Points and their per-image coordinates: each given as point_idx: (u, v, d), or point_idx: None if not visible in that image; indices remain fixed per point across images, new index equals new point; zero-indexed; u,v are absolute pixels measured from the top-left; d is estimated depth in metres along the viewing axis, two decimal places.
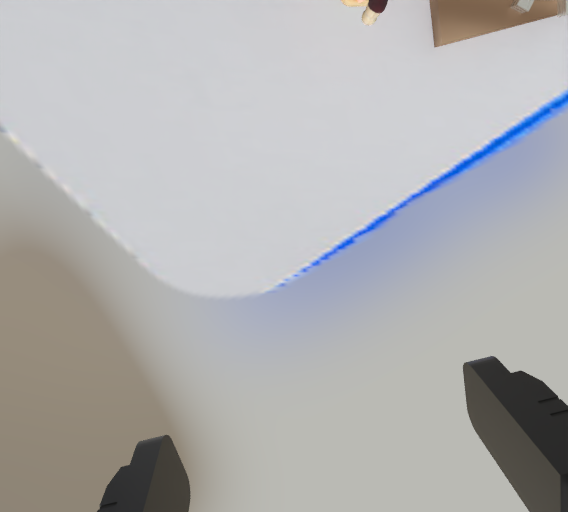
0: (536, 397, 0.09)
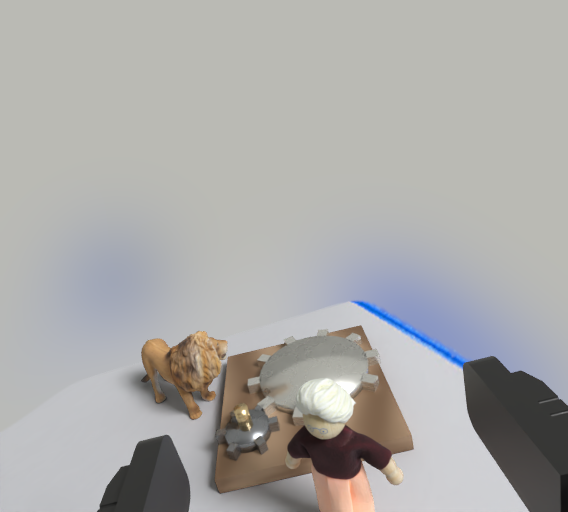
0: (536, 397, 0.09)
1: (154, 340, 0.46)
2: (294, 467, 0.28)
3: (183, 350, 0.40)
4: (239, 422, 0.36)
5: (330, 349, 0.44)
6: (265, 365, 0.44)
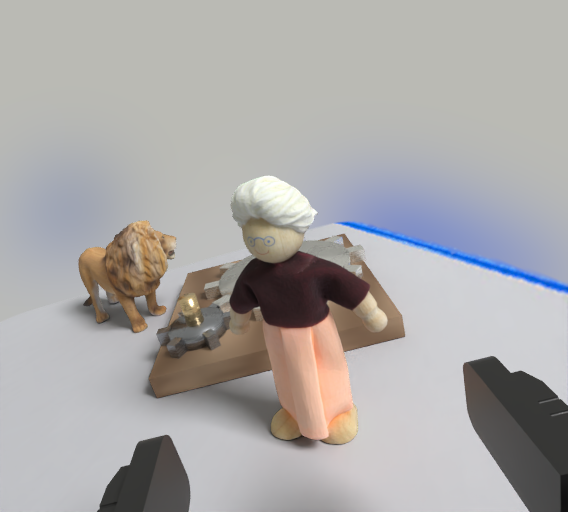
0: (536, 397, 0.09)
1: None
2: (240, 331, 0.20)
3: (118, 239, 0.33)
4: (185, 314, 0.28)
5: (306, 251, 0.37)
6: (228, 271, 0.37)
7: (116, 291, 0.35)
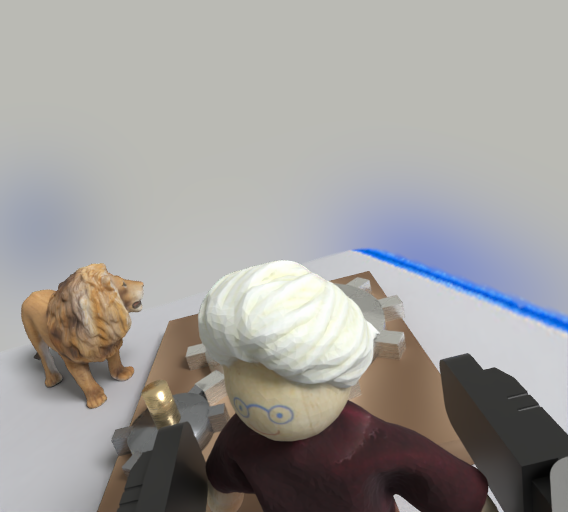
0: (507, 393, 0.10)
1: (41, 291, 0.30)
2: None
3: (62, 291, 0.24)
4: (152, 414, 0.19)
5: None
6: None
7: (63, 356, 0.26)
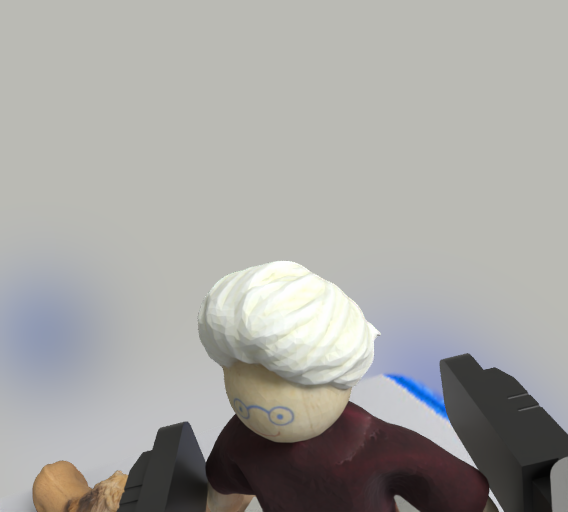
0: (507, 393, 0.10)
1: (53, 468, 0.28)
2: None
3: None
4: None
5: None
6: None
7: None
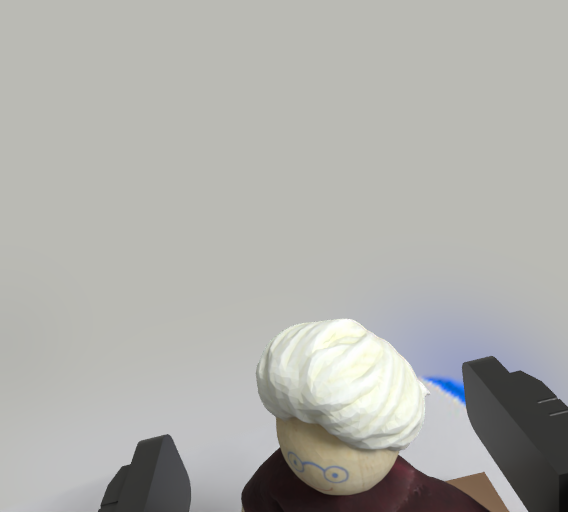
0: (535, 397, 0.09)
1: None
2: None
3: None
4: None
5: None
6: None
7: None
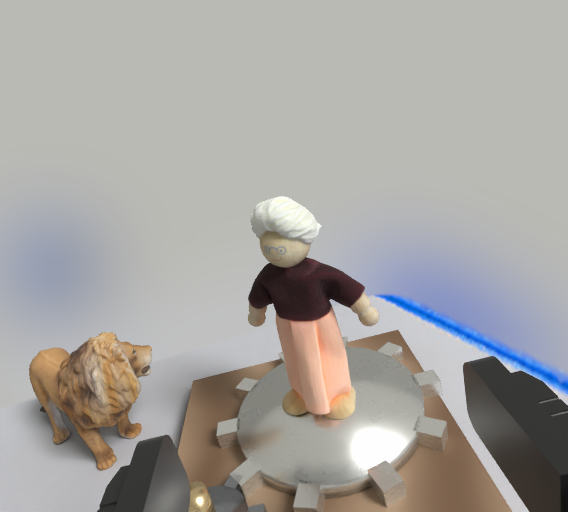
0: (536, 397, 0.09)
1: (48, 350, 0.31)
2: (257, 323, 0.24)
3: (74, 363, 0.25)
4: None
5: (354, 370, 0.27)
6: (248, 397, 0.27)
7: (74, 422, 0.27)
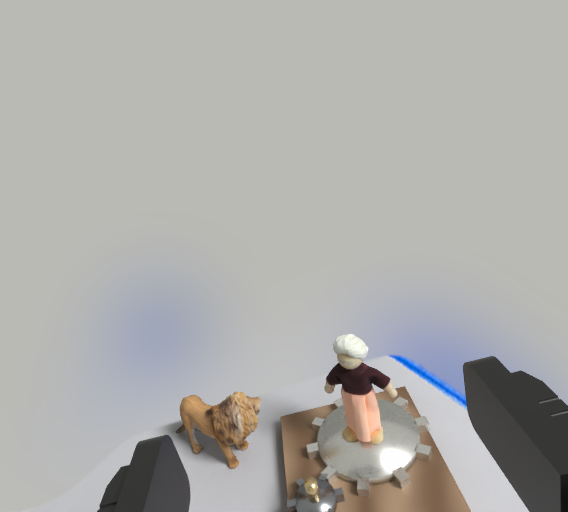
0: (536, 397, 0.09)
1: (191, 397, 0.52)
2: (330, 391, 0.45)
3: (225, 410, 0.46)
4: (309, 495, 0.39)
5: (381, 414, 0.48)
6: (320, 430, 0.48)
7: (219, 442, 0.48)
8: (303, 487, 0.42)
